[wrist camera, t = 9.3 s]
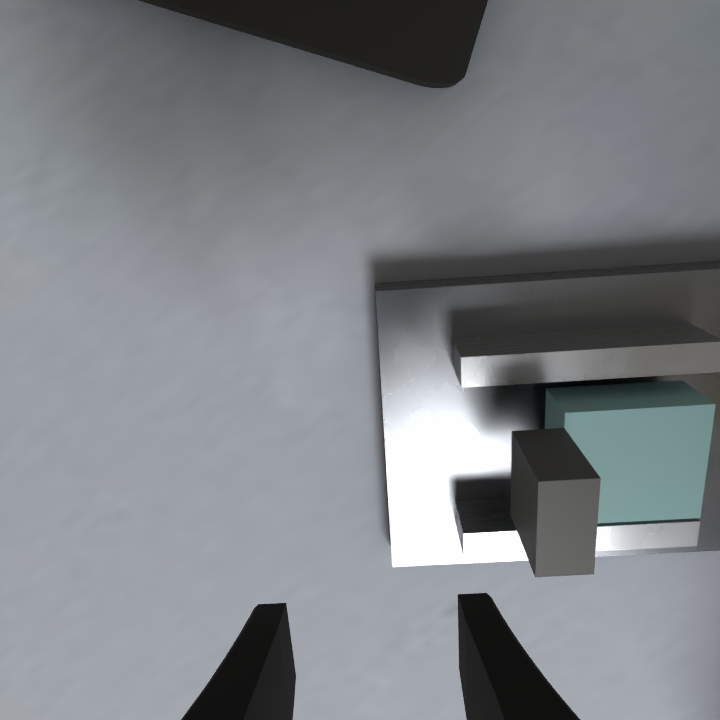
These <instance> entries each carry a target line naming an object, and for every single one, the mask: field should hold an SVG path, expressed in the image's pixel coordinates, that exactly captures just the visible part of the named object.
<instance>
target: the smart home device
mask: <svg viewBox="0 0 720 720" xmlns="http://www.w3.org/2000/svg"><path fill="white" fill-rule="evenodd" d="M139 1H143V2H146V3H149V4H152V5H156V6H159V7H162V8H166V9H169V10H172V11H176V12H179V13H182V14H186V15H189V16H192V17H195V18H199V19H202V20H205V21H209V22H212V23H215V24H219V25H222V26H225V27H228V28H232V29H235V30H238V31H242V32H245V33H248V34H252V35H255V36H258V37H261V38H265V39H268V40H271V41H275V42H278V43H281V44H285V45H288V46H291V47H294V48H298V49H301V50H304V51H308V52H311V53H314V54H318V55H321V56H324V57H327V58H331V59H334V60H337V61H341V62H344V63H347V64H351V65H354V66H357V67H361V68H364V69H367V70H370V71H374V72H377V73H380V74H384V75H387V76H390V77H394V78H397V79H400V80H403V81H407V82H410V83H413V84H417V85H421V86H425V87H431V88H445V87H450V86H453V85H455V84H457V83H458V82H459V81H460V80H462V79H463V78H464V76H465V74H466V71H467V68H468V64H469V61H470V58H471V54H472V51H473V48H474V44H475V41H476V38H477V34H478V31H479V28H480V24H481V21H482V18H483V15H484V11H485V8H486V5H487V1H488V0H139Z"/></svg>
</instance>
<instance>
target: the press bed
mask: <svg viewBox="0 0 720 720" xmlns="http://www.w3.org/2000/svg"><path fill="white" fill-rule="evenodd" d="M375 293H376V310H377V326H378V342H379V359H380V375H381V391H382V408H383V424H384V440H385V457H386V473H387V489H388V506H389V522H390V538H391V554H392V567H405V566H425V565H444V564H463V563H483V562H502V561H522V560H528V558H527V555H526V553H525V550H524V548H523V545H522V543H521V540H520V538H519V535H518V533H517V530H516V528H515V525H514V523H513V520H512V518H511V515H510V507H511V443H512V431H519V430H536V429H545V406H546V388H561V387H578V386H595V385H611V384H628V383H645V382H661V381H678V380H683V381H684V382H686V383H687V384H688V385H690V386H691V387H693V388H694V389H695V390H697V391H698V392H700V393H701V394H702V395H704V396H705V397H707V398H708V399H709V400H711V401H712V402H714V403H715V404H716V406H715V413H714V421H713V428H712V435H711V443H710V450H709V457H708V465H707V472H706V479H705V487H704V494H703V501H702V508H701V516H700V518H691V519H672V520H653V521H634V522H616V523H598V524H597V538H596V552H595V557H600V556H619V555H639V554H658V553H678V552H697V551H717V550H720V261H716V262H701V263H685V264H670V265H655V266H640V267H625V268H610V269H594V270H579V271H564V272H549V273H534V274H518V275H503V276H488V277H473V278H458V279H442V280H427V281H412V282H397V283H382V284H375Z"/></svg>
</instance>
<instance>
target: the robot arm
mask: <svg viewBox="0 0 720 720" xmlns="http://www.w3.org/2000/svg"><path fill="white" fill-rule="evenodd" d="M458 628H459V670H460V677H461V684H462V691H463V698H464V704H465V711H466V717H467V720H580V719H579V718H578V717H577V715H576V714H575V713H574V712H573V711H572V710H571V709H570V707H569V706H568V705H567V704H566V703H565V701H564V700H563V699H562V698H561V697H560V695H559V694H558V693H557V692H556V691H555V689H554V688H553V687H552V686H551V684H550V683H549V682H548V681H547V679H546V678H545V677H544V676H543V674H542V673H541V672H540V670H539V669H538V668H537V666H536V665H535V663H534V662H533V661H532V659H531V658H530V657H529V655H528V654H527V653H526V651H525V650H524V649H523V647H522V646H521V644H520V643H519V641H518V640H517V638H516V637H515V635H514V634H513V632H512V631H511V629H510V628H509V626H508V625H507V623H506V622H505V620H504V618H503V617H502V615H501V614H500V612H499V610H498V608H497V607H496V605H495V603H494V601H493V599H492V598H491V597H490V596H489V595H488V594H487V593H478V594H458ZM295 681H296V673H295V666H294V658H293V651H292V643H291V636H290V628H289V621H288V614H287V606H286V603H277V604H258V605H257V606H256V607H255V608H254V610H253V611H252V613H251V615H250V617H249V619H248V620H247V622H246V624H245V626H244V627H243V629H242V631H241V633H240V634H239V636H238V638H237V639H236V641H235V642H234V644H233V646H232V647H231V649H230V650H229V652H228V654H227V655H226V657H225V658H224V660H223V661H222V663H221V664H220V666H219V667H218V669H217V670H216V672H215V673H214V675H213V676H212V678H211V679H210V681H209V682H208V684H207V685H206V687H205V688H204V690H203V691H202V692H201V694H200V695H199V696H198V698H197V699H196V700H195V702H194V703H193V704H192V706H191V707H190V709H189V710H188V711H187V713H186V714H185V715H184V717H183V718H182V719H181V720H292V719H293V708H294V695H295Z"/></svg>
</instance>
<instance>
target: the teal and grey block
mask: <svg viewBox="0 0 720 720" xmlns="http://www.w3.org/2000/svg"><path fill="white" fill-rule="evenodd" d="M715 406H716V404H715V403H714V402H712V401H711V400H709V399H708V398H707V397H705V396H704V395H702V394H701V393H700V392H698V391H697V390H695V389H694V388H693V387H691V386H690V385H688V384H687V383H686V382H684V381H683V380H678V381H661V382H645V383H628V384H611V385H595V386H578V387H561V388H546V406H545V429H536V430H519V431H512V443H511V507H510V515H511V518H512V520H513V523H514V525H515V528H516V530H517V533H518V535H519V538H520V540H521V543H522V545H523V548H524V550H525V553H526V555H527V558H528V560H529V563H530V565H531V568H532V570H533V573H534V575H535V577H549V576H568V575H588V574H594V566H595V552H596V538H597V524H598V523H616V522H634V521H653V520H672V519H691V518H700V516H701V508H702V501H703V494H704V487H705V479H706V472H707V465H708V457H709V450H710V443H711V435H712V428H713V421H714V413H715Z"/></svg>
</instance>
